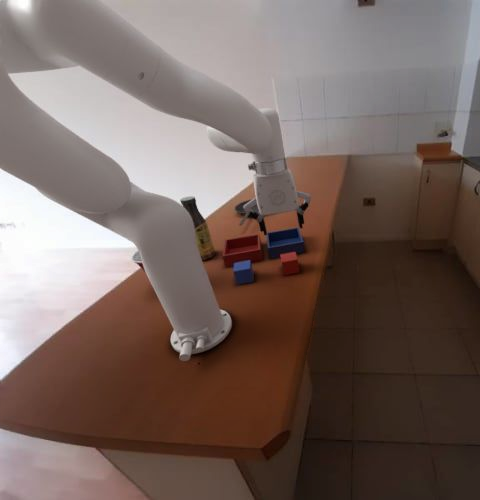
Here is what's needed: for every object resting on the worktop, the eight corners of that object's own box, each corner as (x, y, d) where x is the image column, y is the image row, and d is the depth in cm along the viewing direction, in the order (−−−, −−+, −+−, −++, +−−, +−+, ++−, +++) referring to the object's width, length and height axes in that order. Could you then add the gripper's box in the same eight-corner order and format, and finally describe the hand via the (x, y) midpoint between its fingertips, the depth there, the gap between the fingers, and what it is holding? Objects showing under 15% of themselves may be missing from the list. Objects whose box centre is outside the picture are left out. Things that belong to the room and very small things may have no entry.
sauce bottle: (209, 261, 88) (188, 202, 78) (191, 260, 90) (169, 202, 80) (220, 251, 94) (202, 195, 84) (203, 250, 95) (184, 194, 85)
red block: (299, 272, 80) (297, 259, 78) (284, 275, 79) (281, 262, 77) (297, 264, 84) (295, 251, 81) (282, 267, 83) (280, 254, 81)
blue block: (253, 281, 78) (250, 268, 75) (237, 284, 77) (233, 271, 74) (253, 272, 81) (250, 259, 79) (237, 275, 80) (234, 262, 78)
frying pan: (278, 202, 132) (277, 194, 130) (266, 232, 104) (264, 223, 102) (241, 204, 132) (239, 197, 130) (219, 235, 104) (216, 226, 103)
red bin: (262, 260, 87) (260, 249, 85) (225, 267, 85) (222, 256, 83) (261, 244, 96) (259, 233, 94) (228, 249, 94) (225, 239, 92)
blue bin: (305, 252, 90) (303, 241, 88) (270, 259, 87) (267, 248, 85) (299, 237, 99) (298, 227, 97) (268, 242, 97) (266, 232, 95)
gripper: (233, 175, 62) (251, 242, 71) (309, 164, 65) (317, 229, 74) (234, 167, 68) (250, 229, 77) (303, 158, 71) (311, 218, 80)
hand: (283, 229), depth 75 cm, fingers open, 9 cm apart
